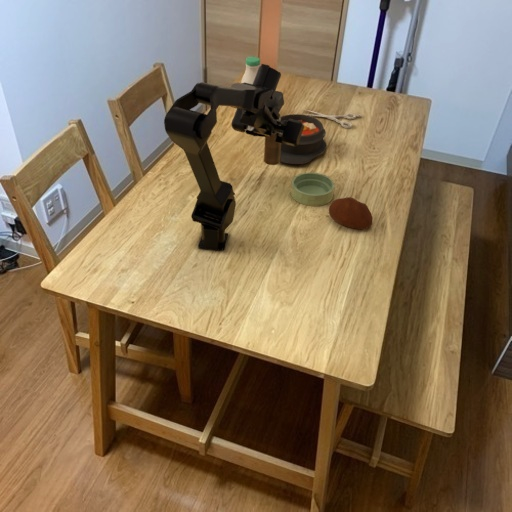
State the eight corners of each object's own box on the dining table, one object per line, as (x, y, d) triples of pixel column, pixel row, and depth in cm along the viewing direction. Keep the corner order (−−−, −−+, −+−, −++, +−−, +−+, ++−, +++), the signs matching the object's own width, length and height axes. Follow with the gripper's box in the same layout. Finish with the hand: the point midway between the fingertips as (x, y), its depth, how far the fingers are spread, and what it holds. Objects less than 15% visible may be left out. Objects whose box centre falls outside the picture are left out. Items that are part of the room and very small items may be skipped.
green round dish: (332, 209, 142) (334, 197, 139) (289, 205, 142) (290, 193, 140) (332, 186, 150) (334, 174, 148) (292, 182, 151) (293, 170, 149)
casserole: (317, 174, 155) (320, 148, 150) (256, 163, 159) (257, 138, 153) (332, 136, 174) (335, 112, 168) (277, 127, 177) (279, 103, 172)
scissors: (355, 127, 177) (298, 116, 181) (355, 129, 177) (297, 118, 182) (361, 114, 185) (306, 104, 189) (361, 116, 185) (306, 106, 190)
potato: (369, 238, 133) (374, 212, 127) (323, 229, 135) (327, 203, 130) (372, 220, 138) (378, 195, 133) (329, 212, 140) (332, 187, 135)
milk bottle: (237, 119, 181) (237, 61, 168) (244, 110, 186) (245, 53, 173) (258, 123, 179) (260, 64, 166) (265, 113, 185) (267, 56, 172)
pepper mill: (282, 164, 147) (285, 120, 139) (266, 165, 146) (269, 122, 138) (277, 156, 150) (280, 113, 142) (261, 157, 149) (263, 114, 141)
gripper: (305, 92, 127) (317, 117, 142) (237, 76, 133) (255, 102, 148) (289, 135, 127) (303, 156, 142) (221, 117, 133) (241, 139, 148)
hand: (275, 137), depth 145 cm, fingers closed on pepper mill, 4 cm apart
